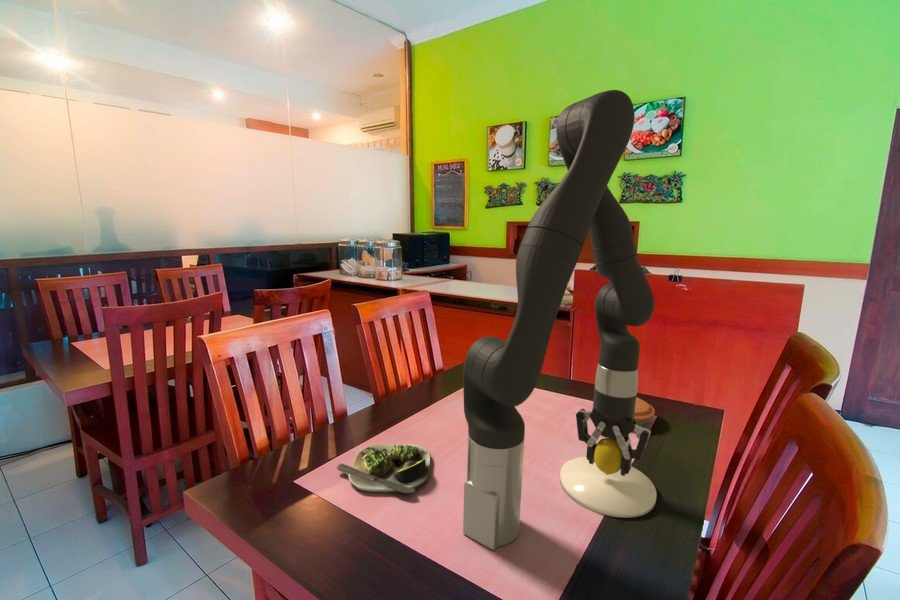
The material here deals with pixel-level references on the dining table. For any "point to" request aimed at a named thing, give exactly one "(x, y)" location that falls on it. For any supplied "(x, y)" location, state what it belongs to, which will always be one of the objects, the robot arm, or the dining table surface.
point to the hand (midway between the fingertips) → (607, 467)
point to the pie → (643, 412)
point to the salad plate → (389, 468)
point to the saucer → (608, 489)
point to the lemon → (608, 456)
